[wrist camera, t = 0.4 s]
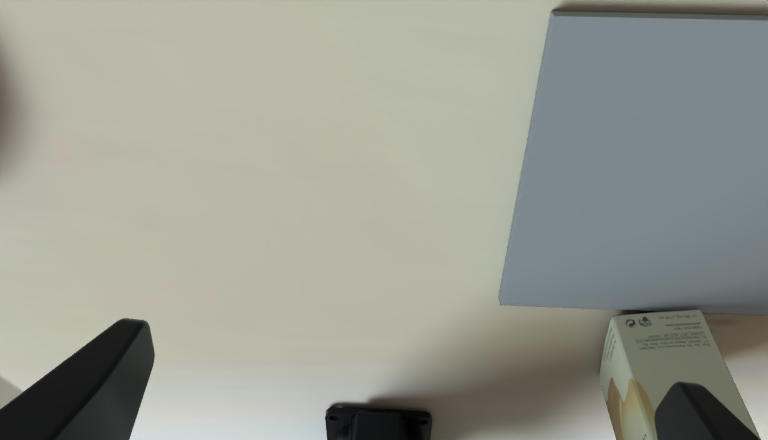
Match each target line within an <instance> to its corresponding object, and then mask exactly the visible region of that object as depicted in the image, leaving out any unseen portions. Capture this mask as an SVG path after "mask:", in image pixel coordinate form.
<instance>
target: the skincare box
mask: <svg viewBox="0 0 768 440" xmlns="http://www.w3.org/2000/svg"><path fill="white" fill-rule="evenodd" d="M599 379H600V383H601V387H602V390H603V394H604V397H605V401H606V404H607V408H608V412H609V415H610V419H611V422H612V426H613V429H614V433H615V436H616V440H658V439H657V433H656V428H655V421H654V416H655V411H656V408H657V407H658V405H659V404H660V402H661V401H662V399H663V398H664V396H665V395H666V393H667V392H668V390H669V389H670V387H671V386H672V385H673V384H674V383H676V382H679V381H681V382H690V383H697V384H700V385H702V386H704V387H705V388H706V389H708V390H709V391H710V392H711V393H712V394H713V395H714V396H715V397H716V398H717V399H718V400H719V401H720V402H721V403H722V404H723V405H725V406H726V407H727V408H728V409H729V410H730V411H731V412H732V413H733V414H734V415H735V416H736V417H737V418H738V419H739V420H740V421H741V422H743V423H744V424H745V425H746V426H747V427H748V428H749V429H750V430H751V431H752V432H753V433H754V434H755V435H756V436H757V437H758V438H759V439H760V436H759V434H758V432H757V430H756V428H755V426H754V424H753V421H752V419H751V417H750V415H749V413H748V411H747V408H746V406H745V404H744V402H743V400H742V398H741V396H740V393H739V391H738V389H737V387H736V385H735V383H734V381H733V378H732V376H731V374H730V372H729V370H728V368H727V365H726V363H725V361H724V359H723V357H722V355H721V352H720V350H719V348H718V346H717V344H716V341H715V339H714V337H713V335H712V333H711V331H710V329H709V327H708V324H707V322H706V320H705V318H704V316H703V313H702V312H701V311H700V310H688V311H670V312H655V313H642V314H630V315H619V316H613V317H612V318H611V321H610V324H609V328H608V332H607V335H606V340H605V344H604V349H603V355H602V361H601V368H600V375H599Z"/></svg>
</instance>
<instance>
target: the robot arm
mask: <svg viewBox="0 0 768 440" xmlns="http://www.w3.org/2000/svg"><path fill="white" fill-rule="evenodd" d="M154 357H155V353H154V347H153V342H152V337H151V332H150V327H149V324H148V323H147V322H146V321H144V320H137V319H129V318H124V319H121V320H118V321H117V322H116V323H114V324H113V325H112V326H110V327H109V328H108V329H106V330H105V331H104V332H102V333H101V334H100V335H98V336H97V337H96V338H94V339H93V340H92V341H90V342H89V343H88V344H86V345H85V346H84V347H82V348H81V349H80V350H78V351H77V352H76V353H74V354H73V355H72V356H70V357H69V358H68V359H66V360H65V361H64V362H62V363H61V364H60V365H58V366H57V367H56V368H55V369H53V370H52V371H51V372H49V373H48V374H47V375H45V376H44V377H43V378H41V379H40V380H39V381H37V382H36V383H35V384H33V385H32V386H31V387H29V388H28V389H27V390H25V391H24V392H23V393H21V394H20V395H19V396H18V397H16V398H15V399H13V400H12V401H11V402H9V403H8V404H7V405H5V406H4V407H3V408H1V409H0V440H129V439H130V436H131V432H132V429H133V426H134V423H135V420H136V417H137V414H138V411H139V408H140V405H141V402H142V399H143V395H144V392H145V389H146V386H147V383H148V380H149V377H150V374H151V371H152V368H153V364H154ZM325 420H326V430H327V440H430V437H431V427H432V415H431V414H430V413H428V412H423V411H400V410H378V409H355V408H329V409H327V411H326V416H325ZM654 421H655V428H656V433H657V439H658V440H761V439H759V438H758V437H757V436H756V435H755V434H754V433H753V432H752V431H751V430H750V429H749V428H748V427H747V426H746V425H745V424H744V423H743V422H741V421H740V420H739V419H738V418H737V417H736V416H735V415H734V414H733V413H732V412H731V411H730V410H729V409H728V408H727V407H726V406H725V405H723V404H722V403H721V402H720V401H719V400H718V399H717V398H716V397H715V396H714V395H713V394H712V393H711V392H710V391H709V390H708V389H706V388H705V387H704V386H702V385H700V384H697V383H690V382H681V381H679V382H676V383H674V384H673V385H672V386H671V387H670V389H669V390H668V392H667V393H666V395H665V396H664V398H663V399H662V401H661V402H660V404H659V405H658V407H657V408H656V411H655V416H654Z"/></svg>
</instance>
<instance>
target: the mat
mask: <svg viewBox="0 0 768 440" xmlns="http://www.w3.org/2000/svg"><path fill="white" fill-rule="evenodd" d="M499 302H500V305H510V306H536V307H562V308H589V309H615V310H641V311H668V312H670V311H688V310H700V311H701V312H702V313H720V314H746V315H768V15H727V14H679V13H631V12H583V11H551V14H550V19H549V25H548V30H547V36H546V41H545V46H544V52H543V57H542V63H541V68H540V74H539V79H538V85H537V90H536V95H535V101H534V106H533V112H532V117H531V123H530V128H529V134H528V139H527V144H526V150H525V155H524V161H523V166H522V172H521V177H520V183H519V188H518V193H517V199H516V204H515V210H514V215H513V221H512V226H511V232H510V237H509V242H508V248H507V253H506V259H505V264H504V270H503V275H502V281H501V286H500V291H499Z"/></svg>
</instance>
